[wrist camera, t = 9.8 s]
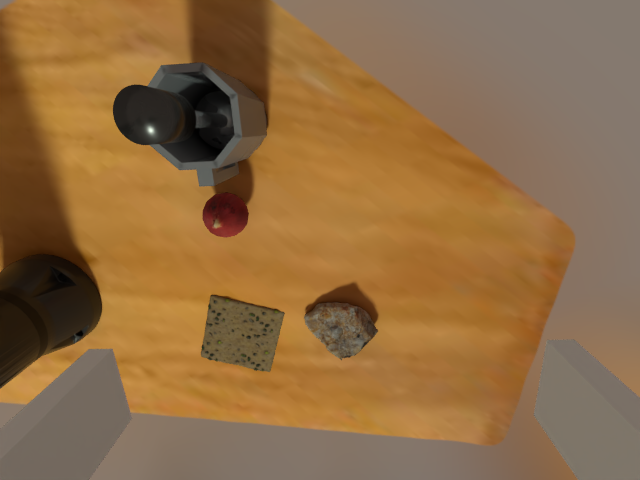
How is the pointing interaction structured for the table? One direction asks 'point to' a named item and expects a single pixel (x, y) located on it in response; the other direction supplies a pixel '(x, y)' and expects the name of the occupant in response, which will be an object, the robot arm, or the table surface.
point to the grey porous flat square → (241, 333)
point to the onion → (225, 215)
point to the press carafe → (194, 150)
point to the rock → (341, 327)
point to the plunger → (172, 116)
